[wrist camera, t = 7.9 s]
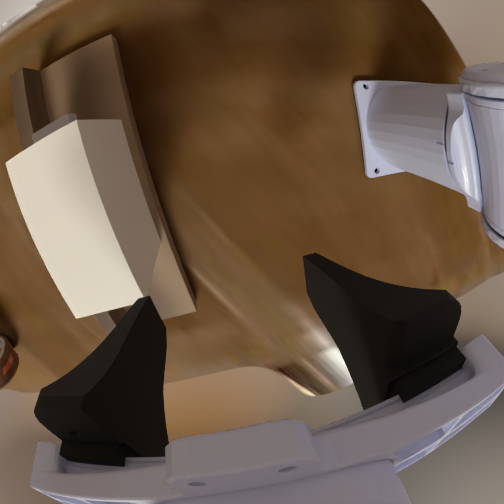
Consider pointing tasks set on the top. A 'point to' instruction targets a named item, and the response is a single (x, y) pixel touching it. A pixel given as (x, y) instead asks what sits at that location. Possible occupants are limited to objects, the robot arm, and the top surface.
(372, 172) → the robot arm
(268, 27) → the top surface
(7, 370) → the tin
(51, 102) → the ledge board
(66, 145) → the cabinet block
